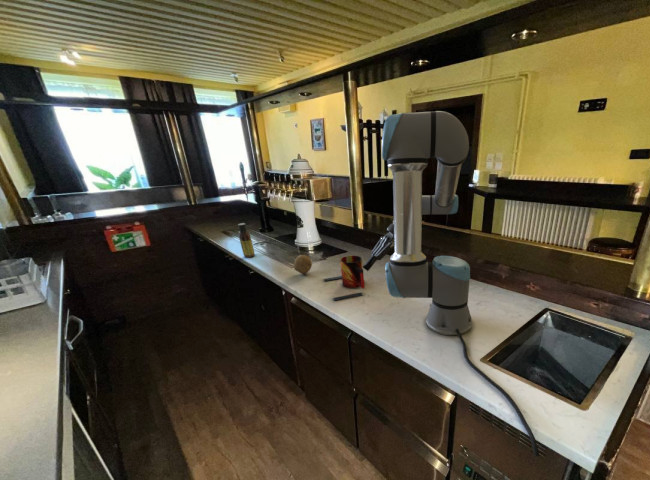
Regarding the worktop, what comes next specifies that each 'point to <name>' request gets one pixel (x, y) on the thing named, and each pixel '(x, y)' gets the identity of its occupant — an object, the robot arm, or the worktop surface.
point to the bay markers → (343, 296)
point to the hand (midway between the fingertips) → (365, 269)
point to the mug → (352, 272)
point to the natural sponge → (302, 264)
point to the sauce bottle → (245, 241)
